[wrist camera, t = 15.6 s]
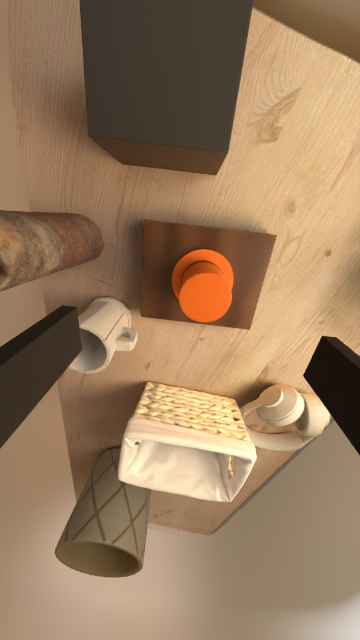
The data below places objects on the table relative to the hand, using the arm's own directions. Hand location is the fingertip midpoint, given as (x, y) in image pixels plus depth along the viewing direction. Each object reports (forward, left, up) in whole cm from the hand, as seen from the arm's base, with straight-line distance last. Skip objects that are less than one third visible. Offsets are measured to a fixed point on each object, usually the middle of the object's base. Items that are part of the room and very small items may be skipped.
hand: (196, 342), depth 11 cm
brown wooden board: (+2, -3, -27) cm, 27 cm away
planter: (-12, -62, -27) cm, 68 cm away
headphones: (+24, -33, -27) cm, 49 cm away
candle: (-19, +1, -27) cm, 33 cm away
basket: (+3, -36, -27) cm, 45 cm away
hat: (+2, -3, -24) cm, 24 cm away
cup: (-14, -13, -27) cm, 33 cm away
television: (-5, +17, -27) cm, 33 cm away
